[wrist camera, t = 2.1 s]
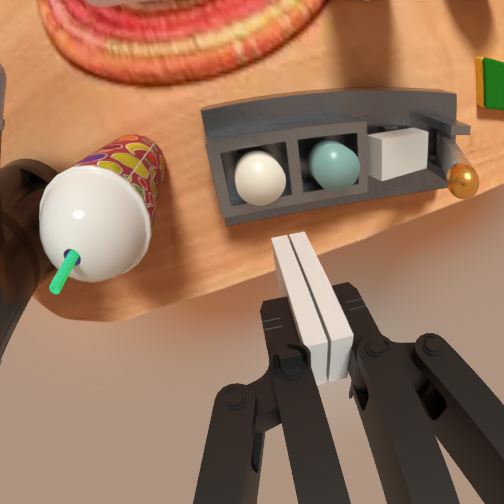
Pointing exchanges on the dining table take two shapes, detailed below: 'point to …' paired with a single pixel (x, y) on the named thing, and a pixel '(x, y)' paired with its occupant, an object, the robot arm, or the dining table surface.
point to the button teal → (333, 165)
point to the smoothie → (102, 211)
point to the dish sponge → (490, 83)
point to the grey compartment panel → (319, 129)
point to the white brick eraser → (397, 153)
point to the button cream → (259, 178)
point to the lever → (456, 167)
